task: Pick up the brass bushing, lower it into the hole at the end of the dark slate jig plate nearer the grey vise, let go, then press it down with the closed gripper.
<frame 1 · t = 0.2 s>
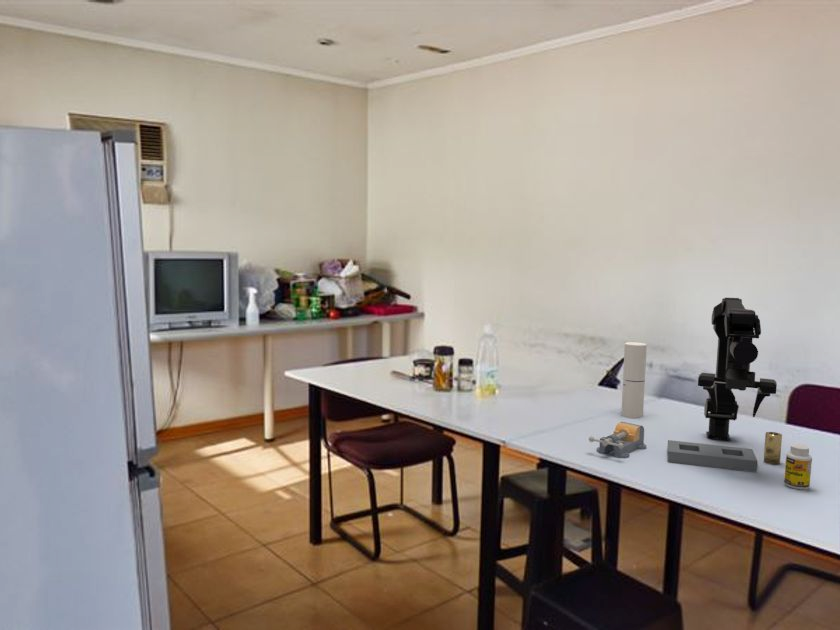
hand: (734, 414, 180), 14 cm above the table, tool pointing down, fingers open, 9 cm apart
bushing: (771, 462, 185), on the table
cylindrical container: (632, 415, 232), on the table
supplement bottle: (796, 487, 167), on the table
vise: (619, 451, 194), on the table
jig: (709, 460, 185), on the table
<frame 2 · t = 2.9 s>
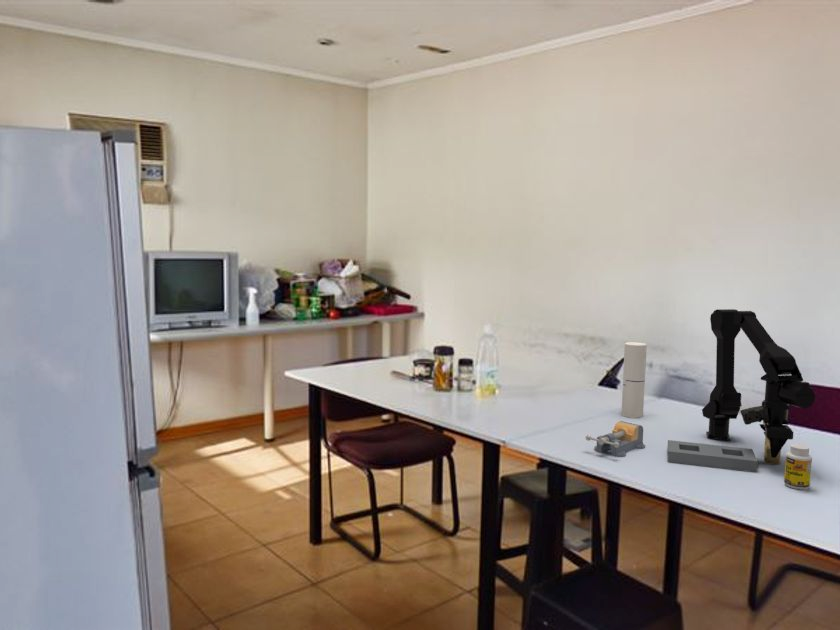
hand: (772, 455, 185), 2 cm above the table, tool pointing down, fingers closed on bushing, 4 cm apart
bushing: (771, 462, 185), on the table, touching gripper
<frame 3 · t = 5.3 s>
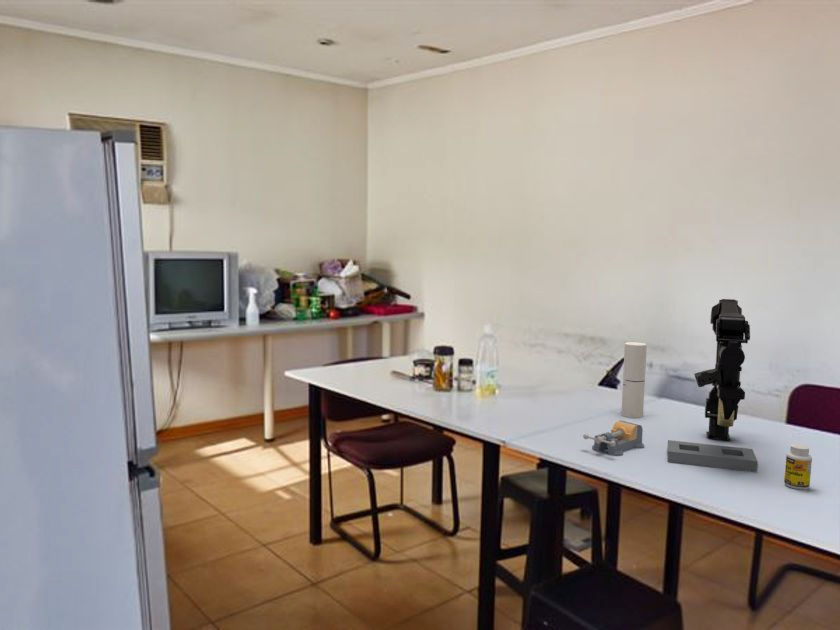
hand: (725, 417, 185), 12 cm above the table, tool pointing down, fingers closed on bushing, 4 cm apart
bushing: (725, 424, 185), point 10 cm above the table, touching gripper
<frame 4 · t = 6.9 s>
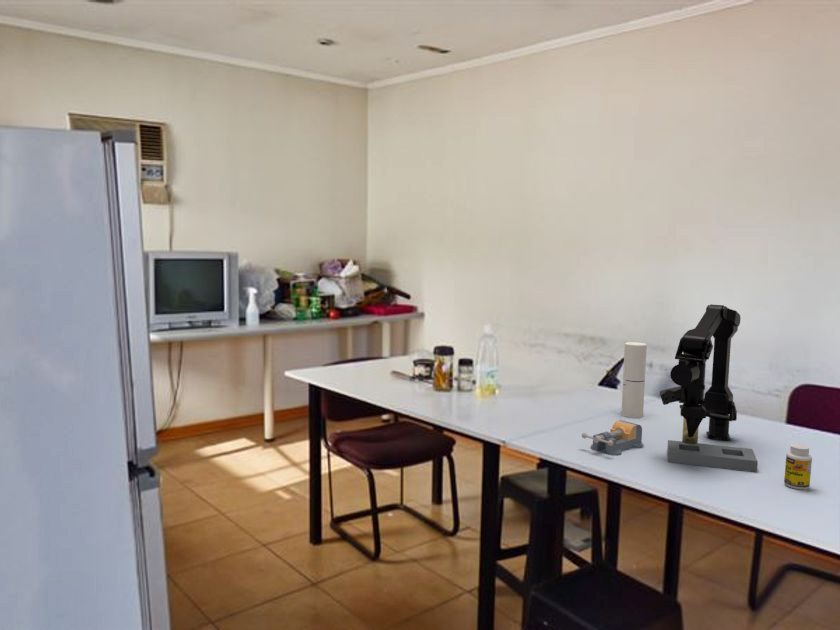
hand: (690, 434, 187), 7 cm above the table, tool pointing down, fingers closed on bushing, 4 cm apart
bushing: (689, 441, 187), point 5 cm above the table, touching gripper
when the fingers open (4 cm above the table, at t = 8.1 s): bushing drops 2 cm, resting in jig.
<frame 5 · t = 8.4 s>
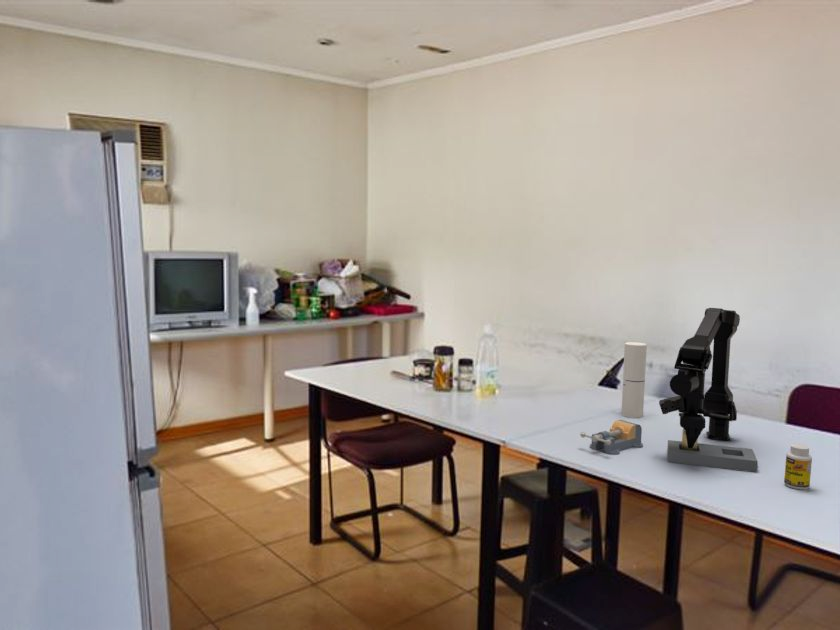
hand: (689, 444, 187), 4 cm above the table, tool pointing down, fingers open, 7 cm apart
bushing: (688, 458, 187), resting in jig
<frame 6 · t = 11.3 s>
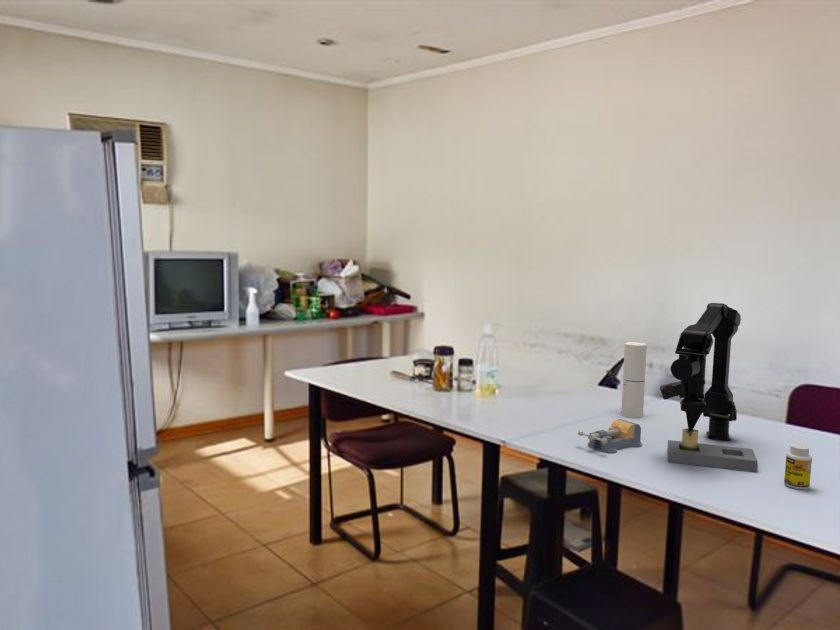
hand: (690, 429, 186), 8 cm above the table, tool pointing down, fingers closed, pressing on bushing
bushing: (688, 458, 187), resting in jig, touching gripper
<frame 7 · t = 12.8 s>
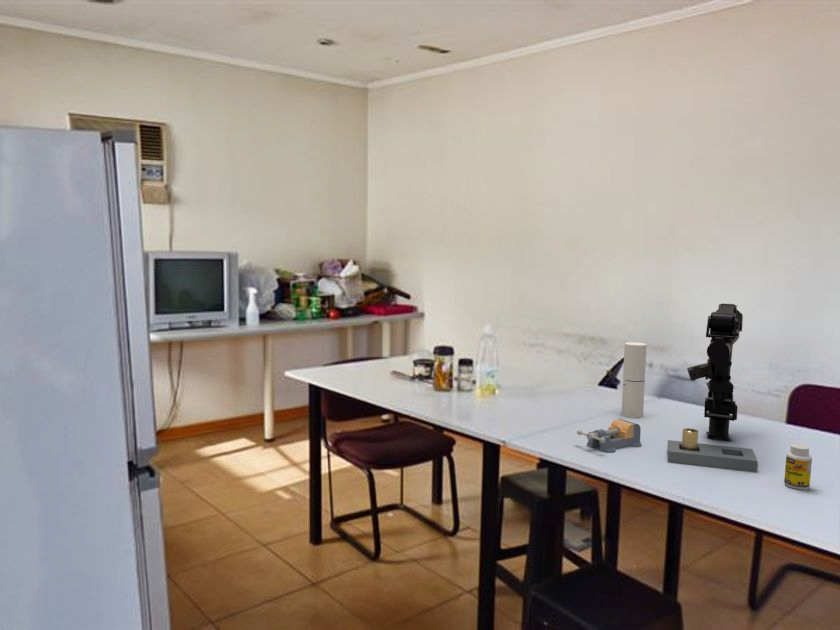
hand: (716, 409, 194), 12 cm above the table, tool pointing down, fingers closed
bushing: (688, 458, 187), resting in jig
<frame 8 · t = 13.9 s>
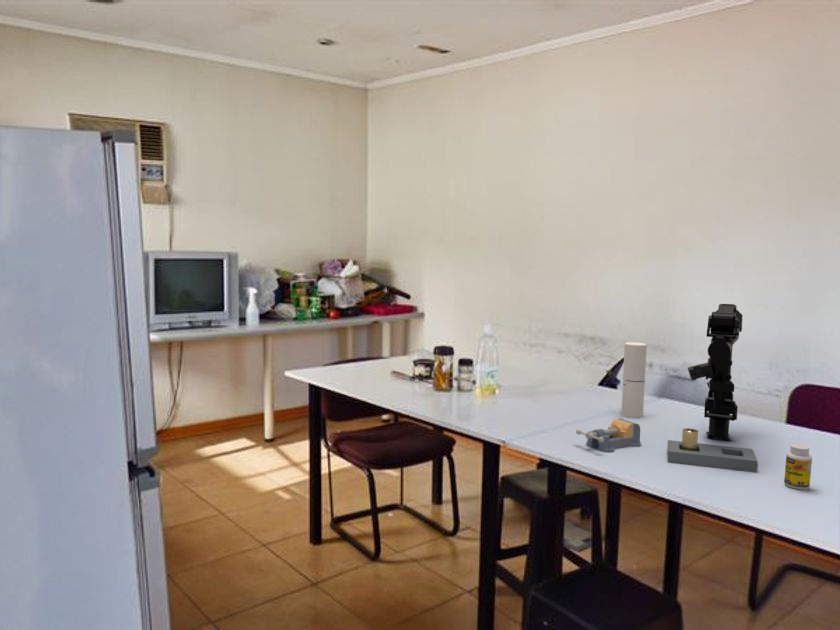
hand: (717, 409, 194), 12 cm above the table, tool pointing down, fingers closed
at the end: bushing 0.1 cm from the target spot on the jig, point 0.0 cm above the jig's base; bushing tilted 0°; the gripper is holding nothing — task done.
